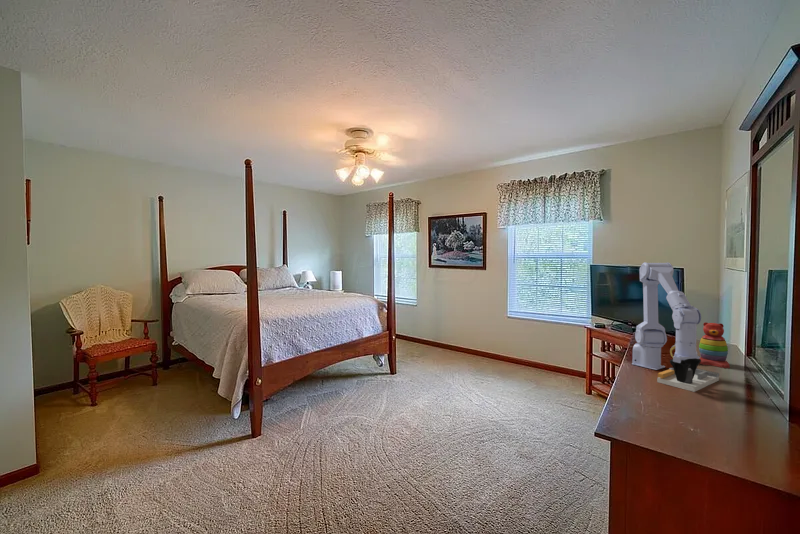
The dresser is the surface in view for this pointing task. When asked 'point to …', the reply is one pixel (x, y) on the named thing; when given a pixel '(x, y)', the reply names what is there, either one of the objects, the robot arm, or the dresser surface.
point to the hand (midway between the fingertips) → (685, 379)
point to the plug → (689, 376)
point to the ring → (672, 349)
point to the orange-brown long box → (666, 373)
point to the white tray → (698, 382)
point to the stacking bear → (713, 346)
